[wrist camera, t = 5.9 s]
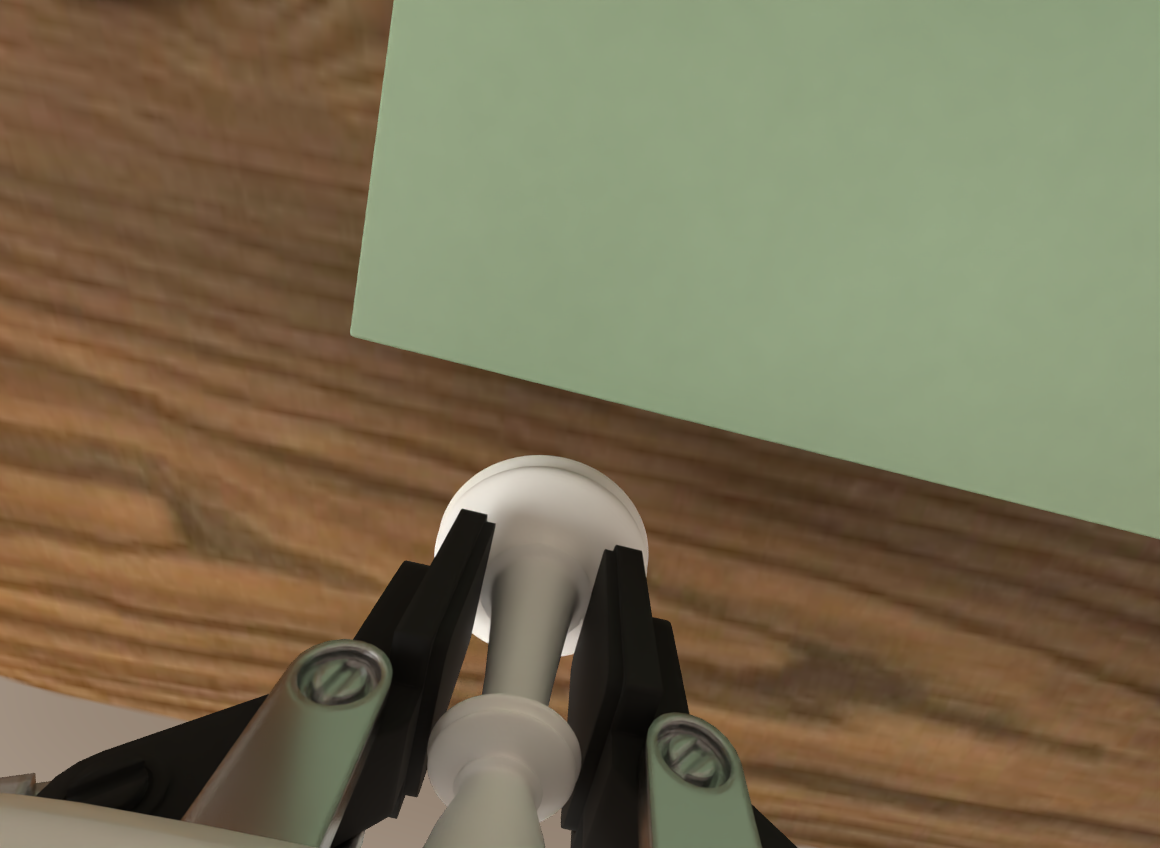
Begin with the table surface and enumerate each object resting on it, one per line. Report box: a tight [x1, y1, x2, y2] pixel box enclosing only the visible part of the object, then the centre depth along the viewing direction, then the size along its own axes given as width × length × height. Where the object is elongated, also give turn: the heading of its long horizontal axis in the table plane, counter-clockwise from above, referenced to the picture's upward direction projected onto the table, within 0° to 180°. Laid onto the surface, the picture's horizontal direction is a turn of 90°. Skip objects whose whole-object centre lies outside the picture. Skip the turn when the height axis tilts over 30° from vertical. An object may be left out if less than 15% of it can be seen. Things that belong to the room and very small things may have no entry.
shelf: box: [350, 0, 1160, 539], centre depth 11 cm, size 20×10×9 cm, turn 76°
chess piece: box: [423, 455, 648, 848], centre depth 8 cm, size 5×5×10 cm
